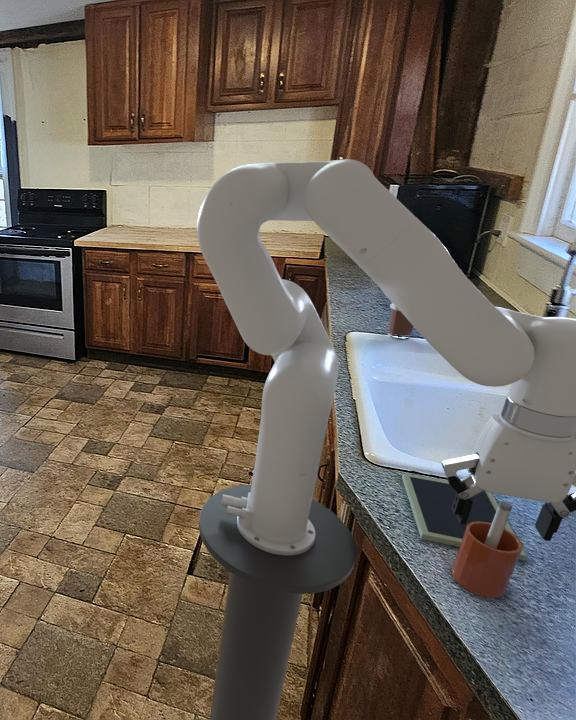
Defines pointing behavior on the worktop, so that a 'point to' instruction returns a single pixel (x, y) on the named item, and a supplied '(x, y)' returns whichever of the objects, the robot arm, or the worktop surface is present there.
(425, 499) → the tablet
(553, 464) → the robot arm
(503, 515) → the stylus
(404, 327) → the coffee cup
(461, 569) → the pen cup
